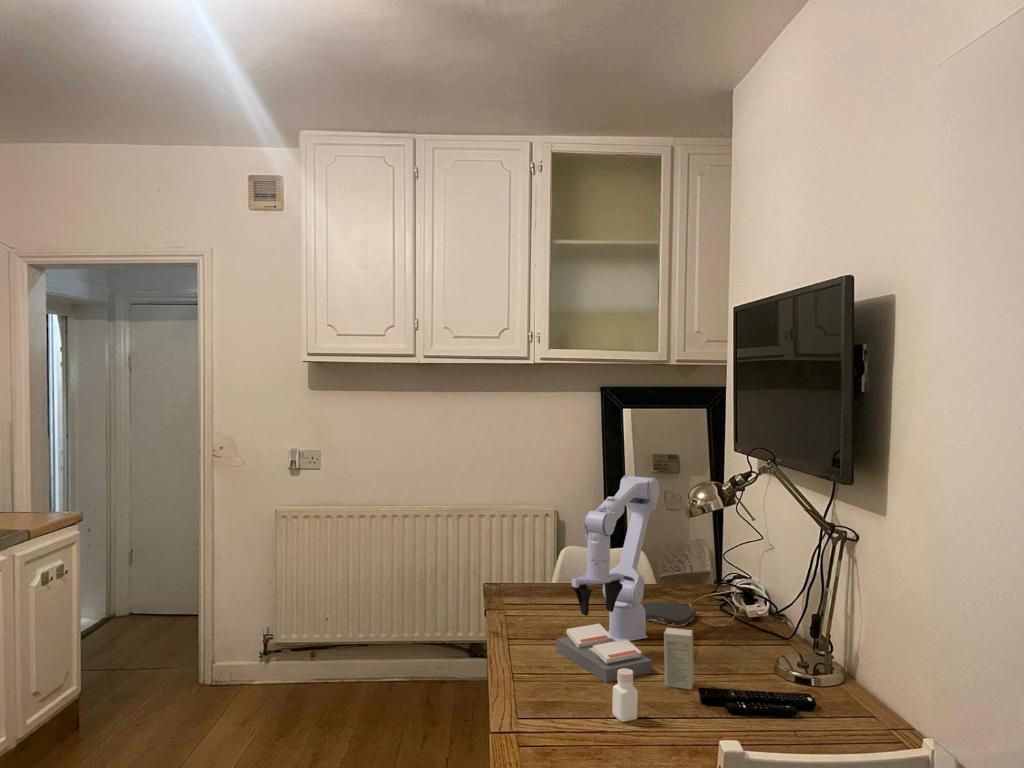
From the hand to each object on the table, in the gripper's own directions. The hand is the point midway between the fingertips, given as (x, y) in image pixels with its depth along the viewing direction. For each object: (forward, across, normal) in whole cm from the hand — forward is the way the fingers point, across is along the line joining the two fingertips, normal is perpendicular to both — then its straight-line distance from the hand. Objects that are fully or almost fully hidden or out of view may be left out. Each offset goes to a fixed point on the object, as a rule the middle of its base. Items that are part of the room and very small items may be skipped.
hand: (597, 612), depth 184 cm
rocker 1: (+6, +2, -1) cm, 7 cm away
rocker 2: (+6, +2, +11) cm, 13 cm away
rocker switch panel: (+10, +2, +5) cm, 12 cm away
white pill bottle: (+11, +15, +32) cm, 37 cm away
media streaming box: (+10, -35, -15) cm, 40 cm away
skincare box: (+11, -6, +24) cm, 27 cm away
